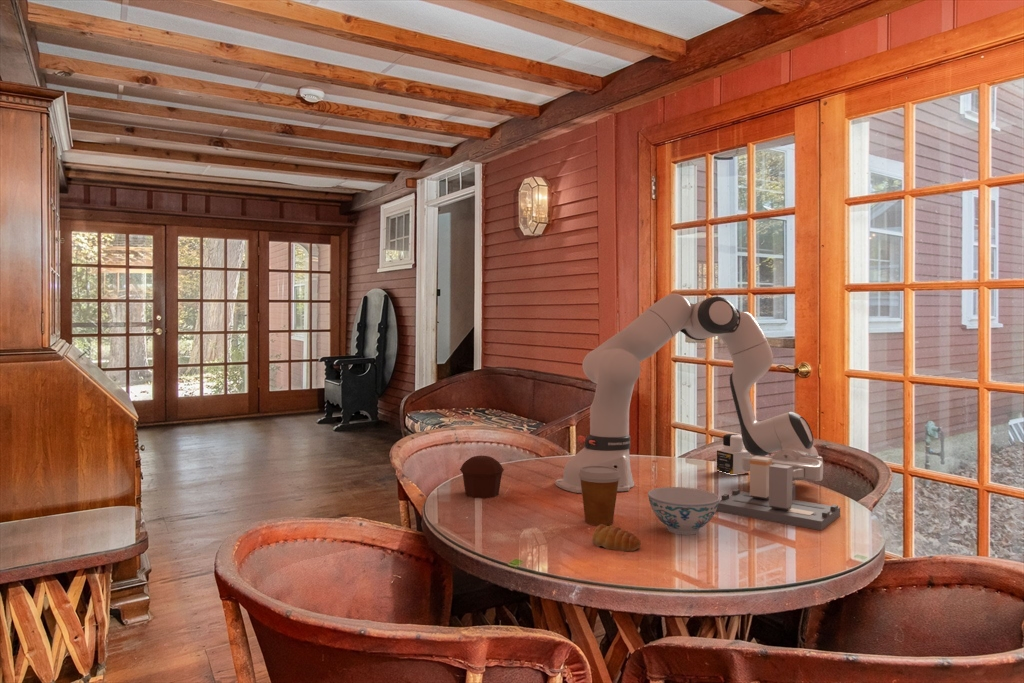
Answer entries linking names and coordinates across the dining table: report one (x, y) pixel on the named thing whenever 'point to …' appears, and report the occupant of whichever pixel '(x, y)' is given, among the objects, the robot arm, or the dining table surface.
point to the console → (779, 510)
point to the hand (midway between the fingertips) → (772, 471)
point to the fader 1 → (759, 477)
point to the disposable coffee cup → (599, 493)
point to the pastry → (615, 538)
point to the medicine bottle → (731, 454)
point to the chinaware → (683, 508)
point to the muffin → (482, 477)
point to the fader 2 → (780, 486)
